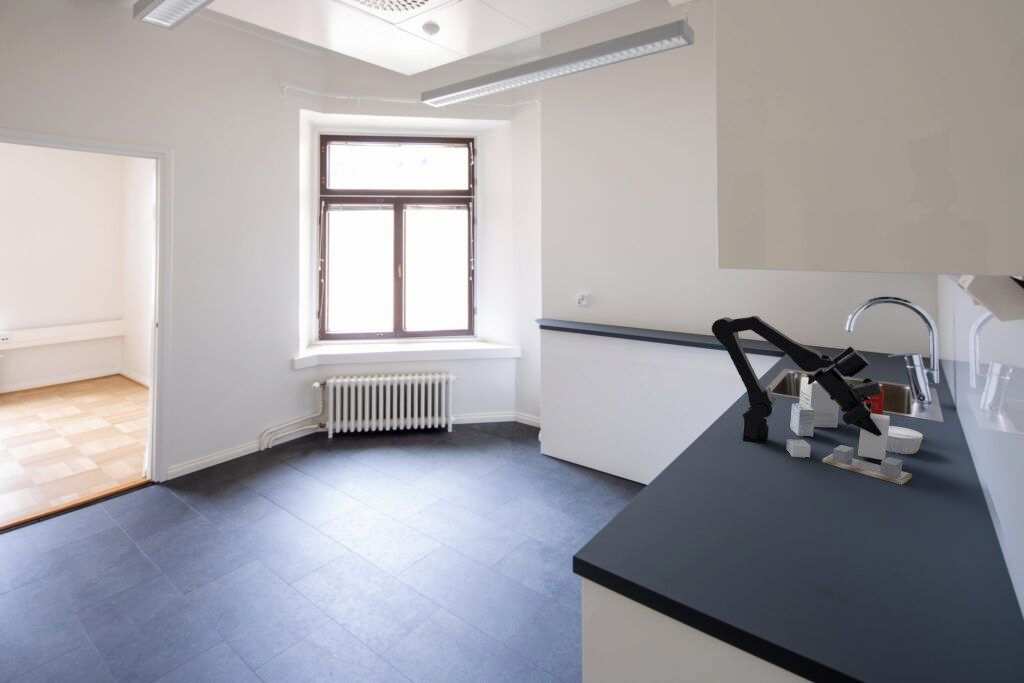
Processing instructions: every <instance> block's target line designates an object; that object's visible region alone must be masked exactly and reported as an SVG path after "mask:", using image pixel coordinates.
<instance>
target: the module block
mask: <svg viewBox="0 0 1024 683" xmlns="http://www.w3.org/2000/svg"><path fill="white" fill-rule="evenodd" d="M870 417H871V418H872V420H873V421H874V423H875V424H876V426H877V427H878V428H879V430H880V431H881V433H882V435H880V436H876V435H874V434H872V433H870V432H868V431H866V430H864V429H862V428H860V433H859V443H858V451H857V452H858V453H857V456H859V457H865V458H870V459H871V458H872V459H876V460H881V461H883V460H884V459H886V454H887V453H886V452H887V451H886V447H887V439H888V431H889V426H890V421H891V419H890V415H885V414H883V415H880V414H872V413H871V415H870Z"/></svg>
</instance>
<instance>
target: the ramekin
mask: <svg viewBox="0 0 1024 683" xmlns="http://www.w3.org/2000/svg"><path fill="white" fill-rule="evenodd" d="M923 438H924V435H923V433H921V432H919V431H917V430H914V429H911V428H908V427H901V426H896V425H889V431H888V439H887V447H886V450H887V451H886V452H890V453H894V452H895V454H899V453H900V454H901V455H913V454H916V453H917V452H918V451H919V449H920V446H921V444H922V440H924V439H923Z"/></svg>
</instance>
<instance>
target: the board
mask: <svg viewBox="0 0 1024 683" xmlns="http://www.w3.org/2000/svg"><path fill="white" fill-rule="evenodd" d="M831 455H833V453H831V454H830V455H827V456H825V457H823V458H822V463H824V464H826V463H827V465H831V466H834V467H838V468H840V469H844V470H848V471H852V472H855V473H859V474H862V475H864V476H869V477H872V478H876V479H879V480H883V481H886V482H890V483H893V484H898V485H900V484H901V485H900V486H903V485H904V484H905V483H907V482H908V481H909V480H911V479H912V478H913V474H912V473H909V472H908V473H909V474H908V475H907V476H905V477H904V478H903V479H901V480H899V479H895V478H892V477H888V476H885V475H881V474H877V473H874V472H870V471H867V470H863V469H860V468H856V467H852V466H849V465H845V464H842V463H838V462H835V461H831V460H827V459H826V458H827V457H829V456H831ZM902 484H903V485H902Z"/></svg>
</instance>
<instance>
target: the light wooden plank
mask: <svg viewBox="0 0 1024 683" xmlns="http://www.w3.org/2000/svg"><path fill="white" fill-rule="evenodd" d="M830 455H831V454H830ZM828 456H829V455H828ZM826 457H827V456H826ZM826 459H827V460H831V461H835V462H838V463H842V464H845V465H849V466H852V467H856V468H860V469H863V470H867V471H870V472H874V473H877V474H881V475H885V476H888V477H892V478H895V479H899V480H901V479H903V478H904V477H905V476H907V475H908V474H909V472H906V471H903V470H901V472H900V473H899V474H897V475H896V476H894V477H893V476H890V475H886V474H883V473H880V469H881V464H876V463H872V462H869V461H865V460H861V459H858V458H853V459H851V460H849V461H847V462H846V463H843V462H840V461H836V460H832V459H833V455H831V456H829V457H827V458H826Z"/></svg>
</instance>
